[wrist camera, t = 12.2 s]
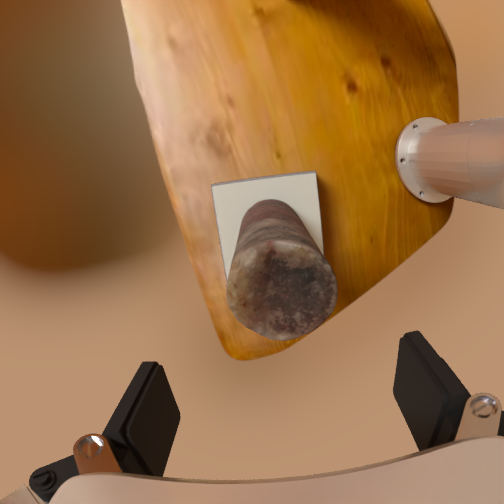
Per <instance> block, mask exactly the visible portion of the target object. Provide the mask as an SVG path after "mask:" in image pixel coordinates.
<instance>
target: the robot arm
mask: <svg viewBox="0 0 504 504" xmlns="http://www.w3.org/2000/svg"><path fill="white" fill-rule="evenodd" d="M413 127H414V129H413ZM400 159H401V160H402V162H400ZM395 160H396V167H397V171H398V174H399V176H400V179H401V181H402V182H403V184H404V186H405V187H406V188H407V189H408V191H409V192H410V193H411V194H413V195H414V196H415V197H417V198H419V199H421V200H423V201H426V202H432V203H438V202H443V201H446V200H448V199H449V198H451V197H456V198H460V199H465V200H469V201H473V202H477V203H481V204H485V205H488V206H492V207H496V208H500V209H504V116H503V117H495V118H488V119H481V120H473V121H466V122H460V123H453V124H446V123H445V122H443V121H442V120H439V119H436V118H431V117H425V118H420V119H416V120H414V121H412V122H411V123H409V124H408V125H407V126H406V127H405V128H404V129H403V131H402V132H401V134H400V136H399V138H398V141H397V145H396V151H395ZM419 193H420V194H419ZM393 394H394V397H395V399H396V401H397V403H398V406H399V407H400V410H401V412H402V414H403V416H404V418H405V420H406V423H407V425H408V427H409V429H410V431H411V433H412V435H413V438H414V440H415V442H416V444H417V447H418V449H419V452H416V453H413V454H409V455H405V456H402V457H398V458H394V459H390V460H386V461H383V462H378V463H375V464H370V465H365V466H361V467H356V468H351V469H346V470H340V471H334V472H328V473H321V474H314V475H306V476H298V477H287V478H276V479H257V480H199V479H182V478H169V477H163V473H164V470H165V467H166V464H167V461H168V457H169V454H170V451H171V447H172V444H173V441H174V438H175V435H176V431H177V428H178V425H179V422H180V411H179V409H178V406H177V404H176V401H175V398H174V396H173V393H172V391H171V388H170V385H169V382H168V380H167V377H166V374H165V371H164V368H163V366H162V365H159V364H158V363H157V362H142V364H141V365H140V367H139V369H138V371H137V372H136V374H135V376H134V378H133V379H132V381H131V383H130V385H129V386H128V388H127V390H126V392H125V393H124V395H123V397H122V399H121V400H120V402H119V404H118V406H117V408H116V409H115V411H114V413H113V415H112V417H111V419H110V420H109V422H108V424H107V426H106V428H105V430H104V431H103V433H102V435H100V434H96V433H92V434H87V435H84V436H82V437H80V438H79V439H78V440H77V441H76V443H75V444H74V447H73V454H74V455H71V456H69V457H66V458H64V459H62V460H59V461H57V462H54V463H51V464H49V465H46V466H44V467H41V468H39V469H37V470H35V471H34V472H33V473H32V475H31V476H30V479H29V486H25V485H23V486H21V487H20V488H19V489H17V490H15V491H14V492H12V493H11V494H9V495H8V496H6V497H5V498H3V499H2V500H0V504H504V411H502V407H501V403H500V401H499V400H498V398H497V397H495V396H494V395H492V394H489V393H477V394H474V395H472V396H471V395H470V394H469V392H468V391H467V389H466V388H465V387H464V385H463V384H462V383H461V381H460V380H459V379H458V377H457V376H456V375H455V373H454V372H453V371H452V370H451V368H450V367H449V366H448V364H447V363H446V362H445V361H444V359H442V358H441V357H440V356H439V355H438V354H437V353H436V351H435V350H434V349H433V348H432V346H431V345H430V344H429V343H428V341H427V340H426V339H425V338H424V337H423V335H422V334H421V333H420V332H419V331H413V332H409V333H405V334H404V336H403V338H400V342H399V351H398V359H397V367H396V374H395V380H394V387H393Z"/></svg>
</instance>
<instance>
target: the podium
mask: <svg viewBox="0 0 504 504" xmlns="http://www.w3.org/2000/svg"><path fill="white" fill-rule="evenodd" d="M211 190H212V196H213V202H214V209H215V215H216V221H217V227H218V233H219V239H220V245H221V251H222V257H223V263H224V268H225V274H226V280H227V279H228V275H229V271H230V267H231V263H232V259H233V255H234V252H235V248H236V244H237V239H238V235H239V230H240V226H241V222H242V219H243V217H244V215H245V213H246V212H247V211H248V209H249V208H251V207H252V206H253V205H254V204H255V203H257V202H259V201H262V200H268V199H276V200H280V201H283V202H285V203H286V204H288V205H289V206H290V207H291V208H292V209H294V211H295V212H296V213H297V215H298V216H299V218H300V219H301V221H302V222H303V224H304V226H305V227H306V229H307V230H308V232H309V234H310V235H311V237H312V238H313V240H314V241H315V243H316V244H317V246H318V247H319V249H320V251H321V252H322V254H323V255H324V245H323V233H322V222H321V211H320V202H319V192H318V183H317V175H316V171H306V172H297V173H288V174H280V175H272V176H264V177H256V178H249V179H242V180H235V181H228V182H221V183H215V184H212V185H211Z"/></svg>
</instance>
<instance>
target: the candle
mask: <svg viewBox="0 0 504 504" xmlns="http://www.w3.org/2000/svg"><path fill="white" fill-rule="evenodd" d="M226 287H227V302H228V305H229V308H230V309H231V311H232V312H233V314H234V316H235V317H236V318H237V320H238V321H239V322H241V323H242V324H243V325H244V326H245V327H246V328H249V329H251V330H253V331H255V332H257V333H258V334H260V335H262V336H265V337H267V338H269V339H272V340H281V341H286V340H291V339H295V338H298V337H300V336H302V335H305V334H308V333H310V332H312V331H314V330H315V329H316V328H317V327H319V326H320V325H321V324H322V323H323V322H324V321H325V320H326V319H327V318H328V317H329V316H330V315H331V313H332V312H333V309H334V307H335V305H336V302H337V280H336V277H335V275H334V272H333V269H332V267H331V266H330V264H329V262H328V261H327V260H326V258H325V257H324V255H323V254H322V252H321V251H320V249H319V247H318V246H317V244H316V243H315V241H314V240H313V238H312V237H311V235H310V234H309V232H308V230H307V229H306V227H305V226H304V224H303V222H302V221H301V219H300V218H299V216H298V215H297V213H296V212H295V211H294V209H292V208H291V207H290V206H289V205H288V204H286V203H285V202H283V201H280V200H276V199H268V200H262V201H259V202H257V203H255V204H254V205H253V206H252V207H251V208H249V209H248V211H247V212H246V213H245V215H244V217H243V219H242V222H241V226H240V230H239V235H238V239H237V244H236V248H235V252H234V255H233V259H232V263H231V267H230V271H229V275H228V279H227V284H226Z"/></svg>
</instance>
